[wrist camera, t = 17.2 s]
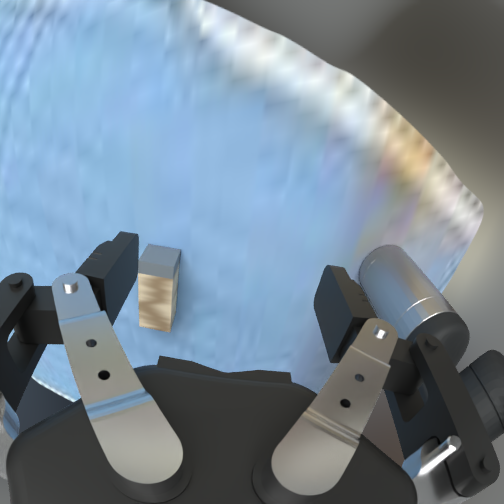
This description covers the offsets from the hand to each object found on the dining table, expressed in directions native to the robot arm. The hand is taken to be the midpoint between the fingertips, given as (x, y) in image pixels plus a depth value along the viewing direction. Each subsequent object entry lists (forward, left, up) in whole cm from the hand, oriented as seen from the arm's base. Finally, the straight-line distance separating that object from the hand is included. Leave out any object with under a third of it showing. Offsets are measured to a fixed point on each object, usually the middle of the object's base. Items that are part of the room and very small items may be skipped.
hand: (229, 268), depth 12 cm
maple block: (+4, +28, -26) cm, 38 cm away
